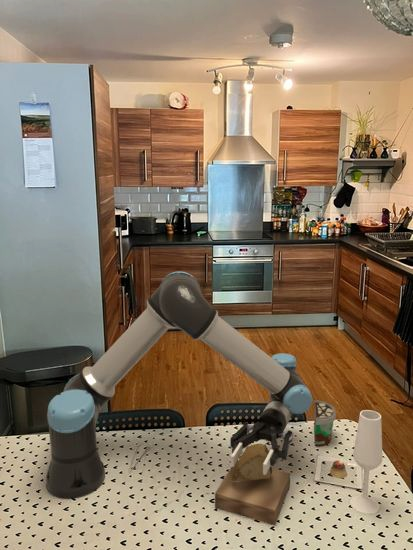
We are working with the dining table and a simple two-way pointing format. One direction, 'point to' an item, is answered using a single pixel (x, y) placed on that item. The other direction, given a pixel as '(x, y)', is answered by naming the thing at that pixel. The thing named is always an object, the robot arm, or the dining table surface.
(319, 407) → the food container
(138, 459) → the tweezers
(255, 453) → the rock
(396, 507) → the dining table surface
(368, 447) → the champagne flute
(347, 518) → the dining table surface
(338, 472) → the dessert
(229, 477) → the plinth
